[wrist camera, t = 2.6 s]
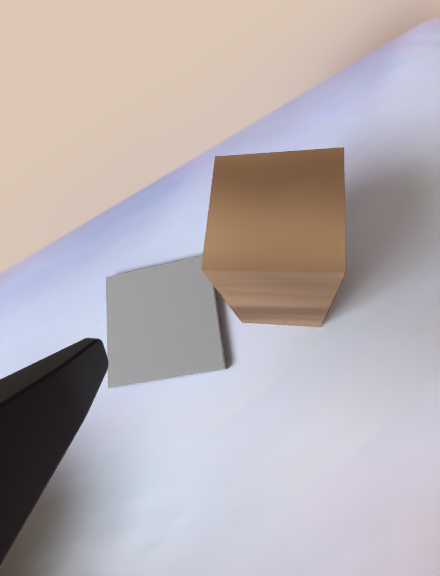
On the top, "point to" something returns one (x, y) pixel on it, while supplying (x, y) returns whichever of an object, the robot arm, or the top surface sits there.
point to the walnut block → (277, 234)
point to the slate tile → (162, 324)
